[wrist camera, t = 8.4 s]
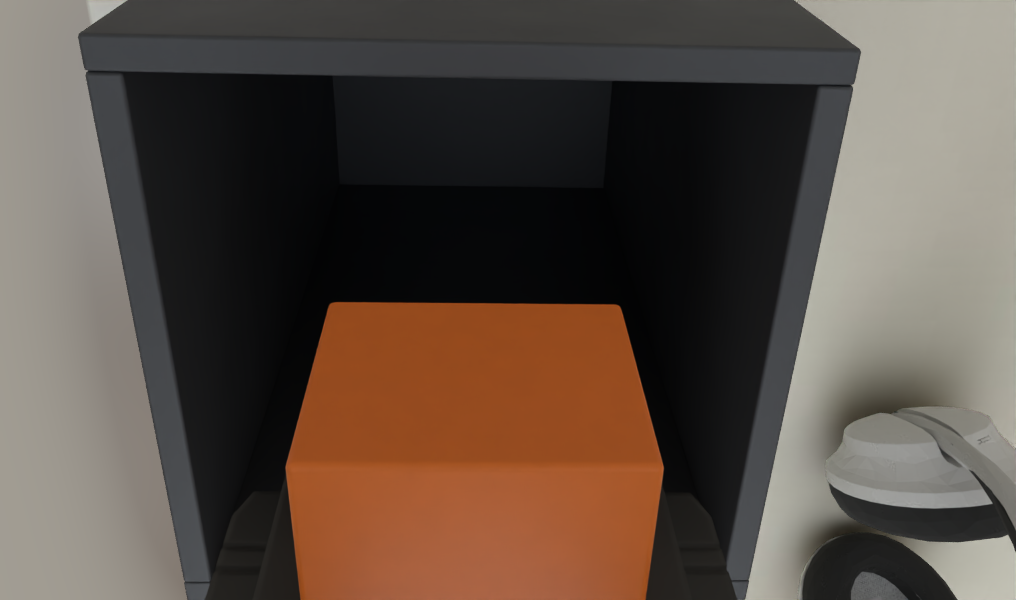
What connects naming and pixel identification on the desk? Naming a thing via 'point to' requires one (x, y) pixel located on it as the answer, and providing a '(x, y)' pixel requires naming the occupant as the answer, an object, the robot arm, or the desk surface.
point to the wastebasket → (466, 208)
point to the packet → (474, 455)
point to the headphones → (912, 501)
